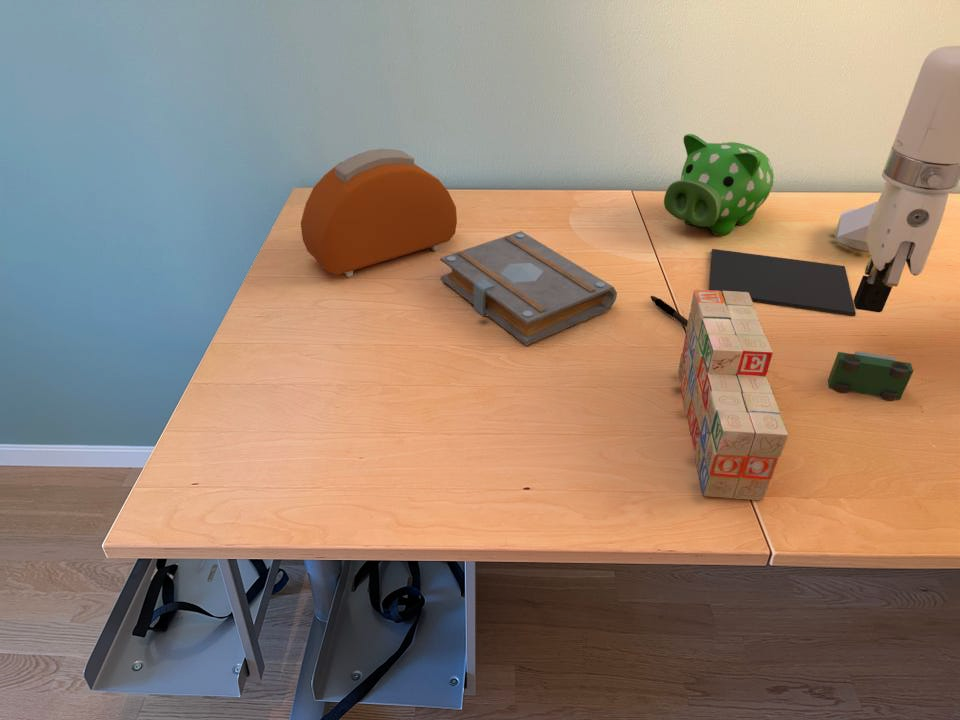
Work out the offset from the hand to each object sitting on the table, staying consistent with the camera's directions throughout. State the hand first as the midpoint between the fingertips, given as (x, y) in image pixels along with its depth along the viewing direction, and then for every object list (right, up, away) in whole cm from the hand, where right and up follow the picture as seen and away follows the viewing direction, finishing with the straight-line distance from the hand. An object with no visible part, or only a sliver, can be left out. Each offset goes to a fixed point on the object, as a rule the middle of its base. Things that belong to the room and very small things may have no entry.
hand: (867, 307), depth 89 cm
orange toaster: (-65, +10, +25) cm, 70 cm away
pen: (-21, -2, +8) cm, 23 cm away
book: (-43, +3, +14) cm, 45 cm away
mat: (-4, +5, +17) cm, 19 cm away
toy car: (-2, -10, -3) cm, 11 cm away
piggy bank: (-8, +17, +34) cm, 39 cm away
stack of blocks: (-22, -15, -9) cm, 28 cm away
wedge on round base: (+14, +12, +27) cm, 33 cm away
